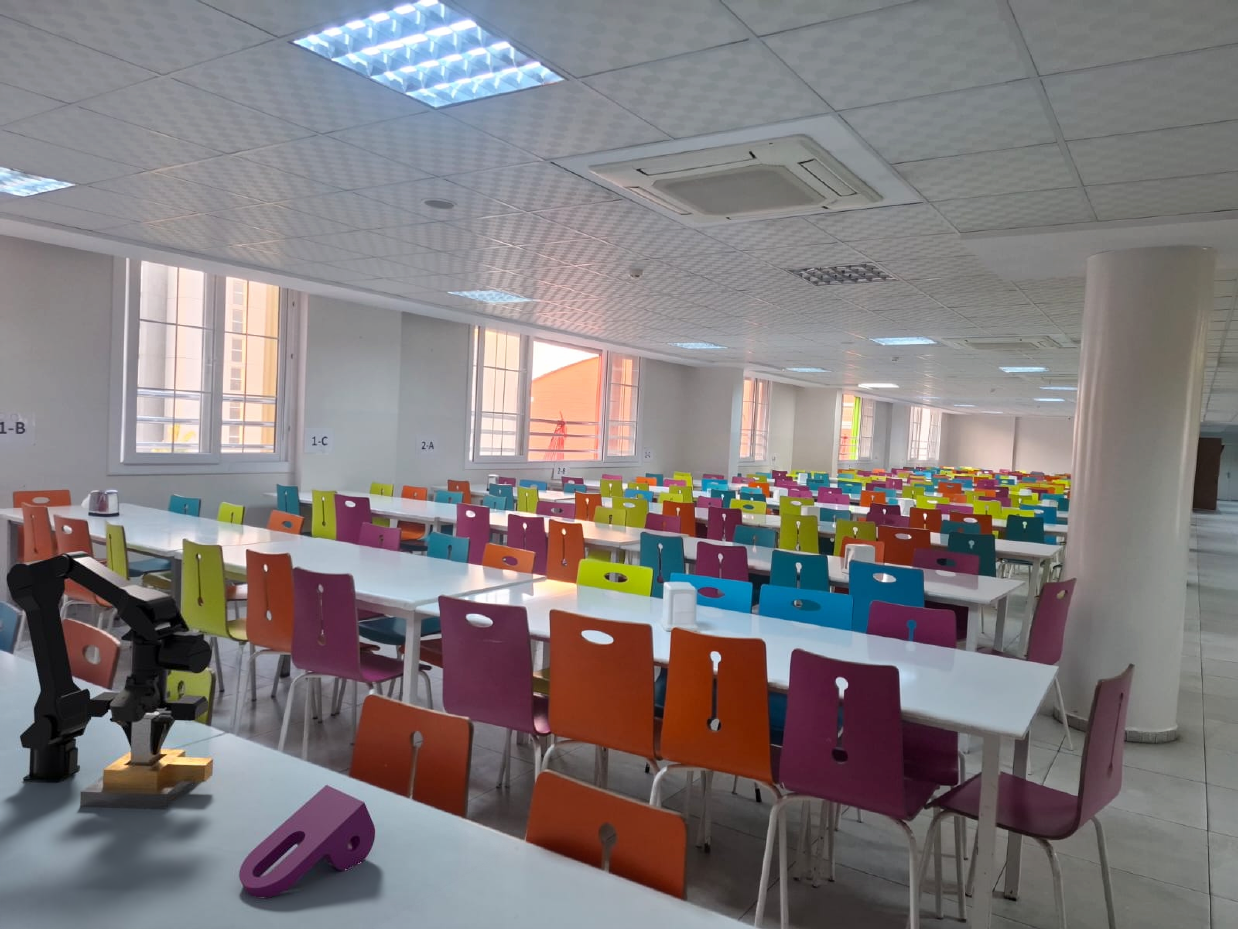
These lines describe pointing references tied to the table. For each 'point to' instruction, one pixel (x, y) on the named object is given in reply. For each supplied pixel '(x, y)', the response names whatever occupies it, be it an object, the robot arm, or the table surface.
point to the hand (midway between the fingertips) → (145, 754)
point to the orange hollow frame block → (147, 781)
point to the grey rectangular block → (144, 741)
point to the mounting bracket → (310, 842)
